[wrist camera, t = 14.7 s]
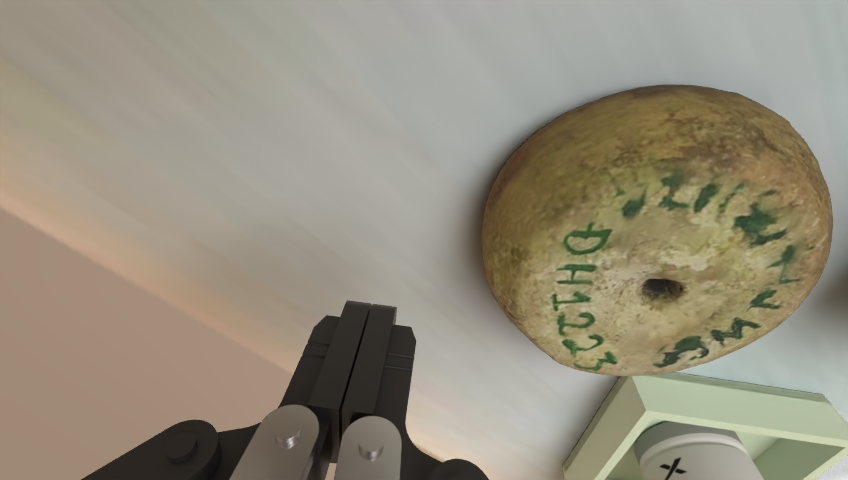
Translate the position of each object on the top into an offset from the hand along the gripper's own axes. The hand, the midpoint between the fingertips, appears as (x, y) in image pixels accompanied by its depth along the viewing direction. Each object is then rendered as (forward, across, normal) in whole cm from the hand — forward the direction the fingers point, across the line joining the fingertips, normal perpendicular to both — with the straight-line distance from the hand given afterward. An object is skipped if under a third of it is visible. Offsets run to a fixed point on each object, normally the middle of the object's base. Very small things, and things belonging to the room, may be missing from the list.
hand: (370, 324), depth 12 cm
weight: (+9, -10, 0) cm, 14 cm away
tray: (+9, -20, +15) cm, 27 cm away
